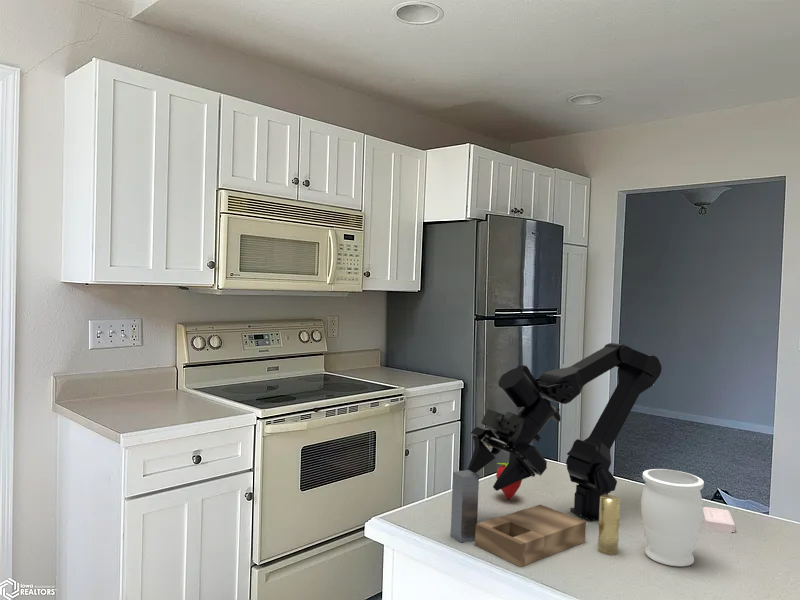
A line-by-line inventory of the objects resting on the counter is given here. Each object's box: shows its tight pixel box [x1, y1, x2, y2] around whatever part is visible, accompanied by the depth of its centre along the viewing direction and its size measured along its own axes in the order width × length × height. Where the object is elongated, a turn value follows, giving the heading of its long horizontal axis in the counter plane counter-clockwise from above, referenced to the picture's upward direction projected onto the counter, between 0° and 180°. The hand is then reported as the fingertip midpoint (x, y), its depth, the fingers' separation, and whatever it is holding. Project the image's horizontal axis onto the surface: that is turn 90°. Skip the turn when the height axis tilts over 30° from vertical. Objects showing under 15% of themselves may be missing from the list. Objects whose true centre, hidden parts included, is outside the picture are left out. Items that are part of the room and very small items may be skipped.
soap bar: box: [702, 506, 736, 533], centre depth 131 cm, size 5×9×2 cm, turn 158°
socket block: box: [474, 504, 587, 568], centre depth 117 cm, size 19×11×4 cm, turn 129°
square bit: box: [450, 469, 480, 544], centre depth 118 cm, size 4×4×12 cm
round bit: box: [597, 494, 621, 556], centre depth 115 cm, size 4×4×10 cm
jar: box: [640, 468, 705, 567], centre depth 113 cm, size 11×10×15 cm
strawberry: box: [495, 461, 523, 500], centre depth 141 cm, size 6×8×10 cm
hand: (480, 481), depth 120 cm, fingers open, 9 cm apart
